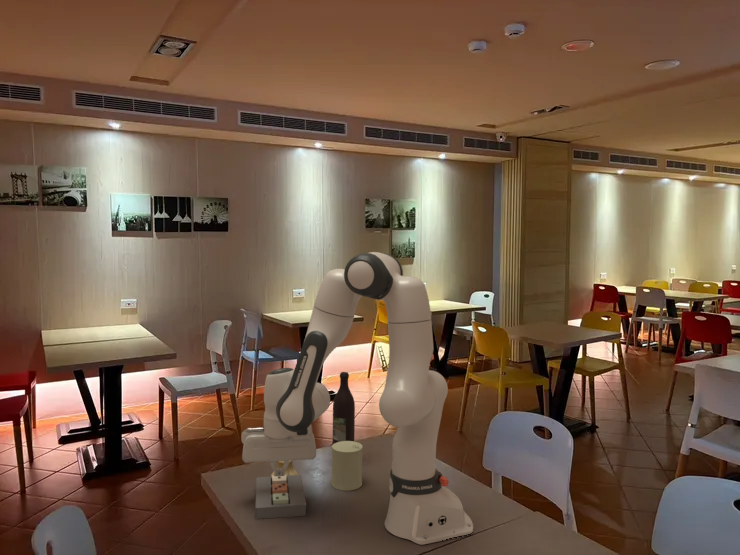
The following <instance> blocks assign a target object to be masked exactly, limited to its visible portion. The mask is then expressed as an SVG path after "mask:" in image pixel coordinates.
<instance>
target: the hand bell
mask: <svg viewBox="0 0 740 555" xmlns="http://www.w3.org/2000/svg"><path fill="white" fill-rule="evenodd" d="M276 462H277V463H276V468H282V467H283V465H284V461H276ZM272 475H274V471H273V472H272V473H271V475H270V477H272ZM285 475H286V476H289V475H299V473H298V472H297V471H296V470H295V467H294V464H293V460H291V461H289V465H288V466H287V468H286V470H285Z"/></svg>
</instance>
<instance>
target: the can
mask: <svg viewBox="0 0 740 555" xmlns="http://www.w3.org/2000/svg"><path fill="white" fill-rule="evenodd" d="M363 446H364V445H363V444H361V443H360V442H357V441H355V440H354V441H341V442H337V443H335V444H333V443H332V445H331V450H332V452H331V453H332V454H331V455H332V457H331V464H332V466H331V482H330V484H331V487H333V489H335V490H339V491H346V492H347V491H354V490H357V489H359V488H361V487H362V486H363V475H362V474H363V472H362V471H363Z"/></svg>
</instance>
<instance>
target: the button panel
mask: <svg viewBox="0 0 740 555" xmlns="http://www.w3.org/2000/svg"><path fill="white" fill-rule="evenodd" d="M286 480H287V493H288V504H279V505H273V495H272V477H271V476H258V477H256V478H255V520H262V518H264V519H265V518H267V519H277V518H278V517H280V518H291V517H303V516H305V517H306V516H307V504H306V496H305V490H304V485H303V478H302V474H298V475H289V476H286ZM278 519H279V518H278Z"/></svg>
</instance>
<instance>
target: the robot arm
mask: <svg viewBox="0 0 740 555" xmlns="http://www.w3.org/2000/svg"><path fill="white" fill-rule="evenodd" d="M324 275H325V276H324V278H323V280H322V282H321V284H320V286H319V288H318V291H317V294H316V296H315V297H316V298H315V299H314V304H313V308H312V312H311V316H310V318H309V319H310V320H309V323H308V325H307V326H308V327H307V330H306V334H305V338H304V340H303V343H302V346H301V349H300V352H299V355H298V358H297V360H296V361H297V362H296V364H295V367H294V368H291V367H283V368H277V369H274V370H272V371H270V372H269V373H267V374H266V377H265V381H264V389H263V390H264V391H263V402H264V403H263V404H264V406H265V407H264V412H263V426H259V427H247V428H246V429H244V430H243V431H242V432H241V436H240V438H241V439H240V441H241V443H242V444H243V448H242V456H241V458H242V459H241V460H242V461H243V462H244V463H246V464H248V463H249V464H250V463H266V462H269V463H270V464H269V466H270V467H271V469H272V471H273V472H274V476H285V470H286V468H287V466H288V465H289V461H291V460H292V461H309V460H310V461H311V460H314V459H315V458H316V457H317V446H316V440H315V435H314V433H313V426H312V424H313V423H314V422H315V421H316V420H317V419H318V418H320V417H321V416H322V415H323V414H324V413H325V412H326V411H327V410H328V409H329V407H330V405H331V394H330V391H329V390H328V388H327V387H326V386H325V384H323V383H321V382H318V380H319V376H320V373H321V370H322V368H323V365H324V363H325V361H326V360H327V359H328V357H329V355H331V353H332V352H333V351H334V350H336V348H337V347H338V346H339V345H341V343H343V342H344V341H345V339H346V338H347V336H348V334H349V332H350V330H351V327H352V325H353V322H354V318H355V314H356V311H357V307H358V305H359V301H360V300H361V298H362V297H366V298H370V299H374V300H377V301H380V300H382V301H383V303H384V304H385V308H386V316H387V331H388V334H387V335H388V348H389V350H388V354H389V355H388V364H387V372H386V379H385V383H384V384H385V385H384V388H383V392H382V393H381V395H380V397H379V400H378V401H379V403H378V408H379V413H380V415H381V417H382V418H383V420H384V421H385V422H386V423H387V424H389V425H390V426H392V427H394V428H396V427H397V428H396V432H395V434H394V436H393V439H392V443H391V444H392V446H391V447H392V452H391V454H392V457H391V469H390V471H389V472H390V473H389V482H388V483H389V493H390V496H389V497H390V498H389V503H388V508H387V514H386V516H385V519H384V527H385V529H386V530H387V531H388V532H389V533H390V534H392V535H394V536H395V537H397V538H402V539H406V540H408V541H412V542H413V543H415V544H418V545H421V546H422V545H427V544H432V543H437V542H442V540H443V541H447V540H446V539H448V540H450V539H449V538H452V537H457V536H460V535H466V534H469V533H472V532H473V533H474V530H473V529H474V523H473V521H472V519H471V517H470V516H469V514H467V513H466V512H465V510H464V507H463V504H462V501H461V500H460V498H459V497H458V496H457V495H456V494H455V493H454V492H453V491H452V490H450V489H449V488H448V486H449V484H450V483H449V479H447V478H448V477H446V476H444V475H443V473H441V471H439V470H438V469H437V468H436V466H437V465H436V464H437V463H436V461H437V460H436V459H437V457H436V456H437V444H438V443H437V441H438V436H439V430H440V426H441V420H442V417H443V416H442V415H443V409H444V404H445V402H446V399H447V396H448V393H449V392H448V391H449V388H448V384H447V381H446V378H445V377H444V376H443V375H442V374H441V373H440V372H438V371H436V370H431V369H430V363H431V360H432V356H433V354H434V350H435V349H434V348H435V347H434V338H433V337H434V336H433V322H432V313H431V305H430V300H429V295H428V292H427V288H426V284H425V282H423V281H422V280H421V279H420V278H418V277H415V276H412V275H407V276H406V275H405V276H404V271H403V266H402V264H401V262H400V261H399V260H398V259H397V258H396V257H395V256H393V255H391V254H389V253H383V252H378V251H371V252H362V253H359V254H357V255H355V256H353V257H352V258H351V259H349V261H348V262H347V263H346V265H345V267H344V268H334V269H331V270H329V271H327V272H326V274H324ZM277 461H284V465H283V467H282V468H276V467H277V465H276V462H277ZM469 526H470V527H469ZM473 533H472V534H473ZM457 538H458V537H457ZM452 539H453V538H452Z"/></svg>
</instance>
